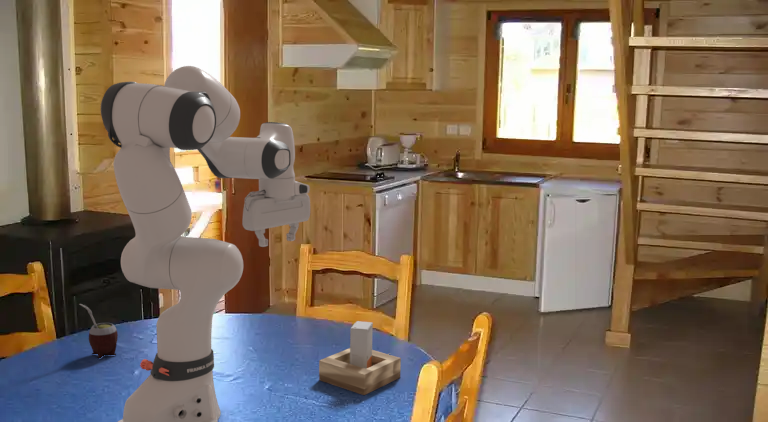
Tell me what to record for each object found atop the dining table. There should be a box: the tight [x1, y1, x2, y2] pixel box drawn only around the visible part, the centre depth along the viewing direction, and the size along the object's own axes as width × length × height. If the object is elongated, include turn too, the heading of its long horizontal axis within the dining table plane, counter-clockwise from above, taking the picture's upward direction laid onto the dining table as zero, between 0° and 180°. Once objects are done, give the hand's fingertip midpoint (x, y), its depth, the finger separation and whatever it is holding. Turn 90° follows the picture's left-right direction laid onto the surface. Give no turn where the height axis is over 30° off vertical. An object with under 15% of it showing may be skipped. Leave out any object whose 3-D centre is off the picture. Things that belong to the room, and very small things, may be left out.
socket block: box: [318, 347, 402, 396], centre depth 184 cm, size 14×14×5 cm
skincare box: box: [349, 320, 374, 369], centre depth 183 cm, size 6×4×12 cm
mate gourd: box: [78, 303, 119, 358], centre depth 196 cm, size 8×8×15 cm
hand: (277, 243), depth 189 cm, fingers open, 8 cm apart
